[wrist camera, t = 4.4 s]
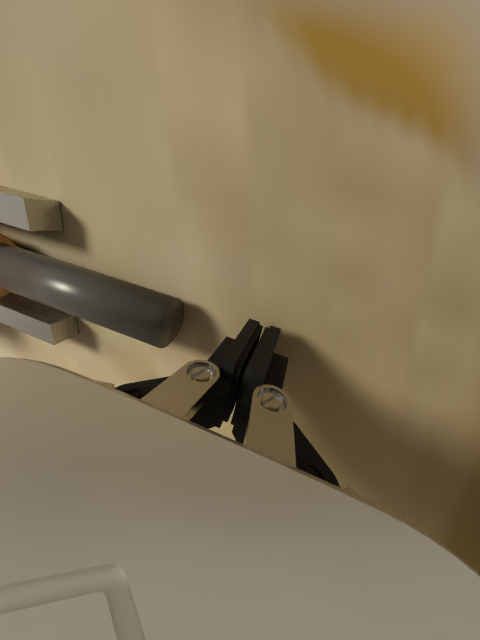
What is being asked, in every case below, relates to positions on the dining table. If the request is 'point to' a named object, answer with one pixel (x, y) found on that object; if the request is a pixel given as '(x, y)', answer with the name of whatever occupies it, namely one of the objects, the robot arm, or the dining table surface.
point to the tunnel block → (18, 309)
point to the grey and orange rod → (90, 295)
